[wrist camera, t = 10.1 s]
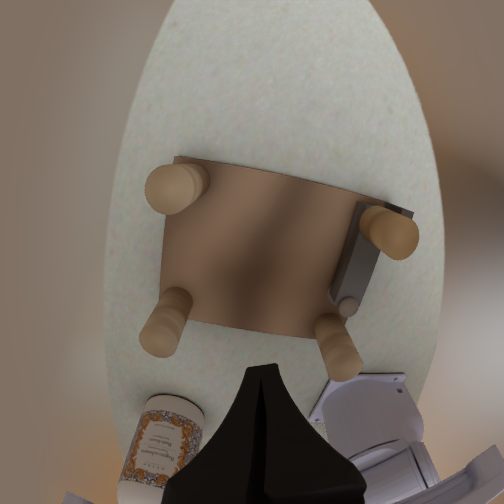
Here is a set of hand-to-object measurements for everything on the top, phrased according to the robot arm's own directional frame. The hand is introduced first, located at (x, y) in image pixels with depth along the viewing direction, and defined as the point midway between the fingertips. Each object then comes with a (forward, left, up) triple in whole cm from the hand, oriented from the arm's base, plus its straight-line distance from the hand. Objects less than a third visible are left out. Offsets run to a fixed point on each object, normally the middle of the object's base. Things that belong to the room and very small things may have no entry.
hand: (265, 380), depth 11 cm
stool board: (0, -3, -10) cm, 10 cm away
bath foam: (+6, +18, -10) cm, 21 cm away
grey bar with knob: (-6, -4, -9) cm, 11 cm away
